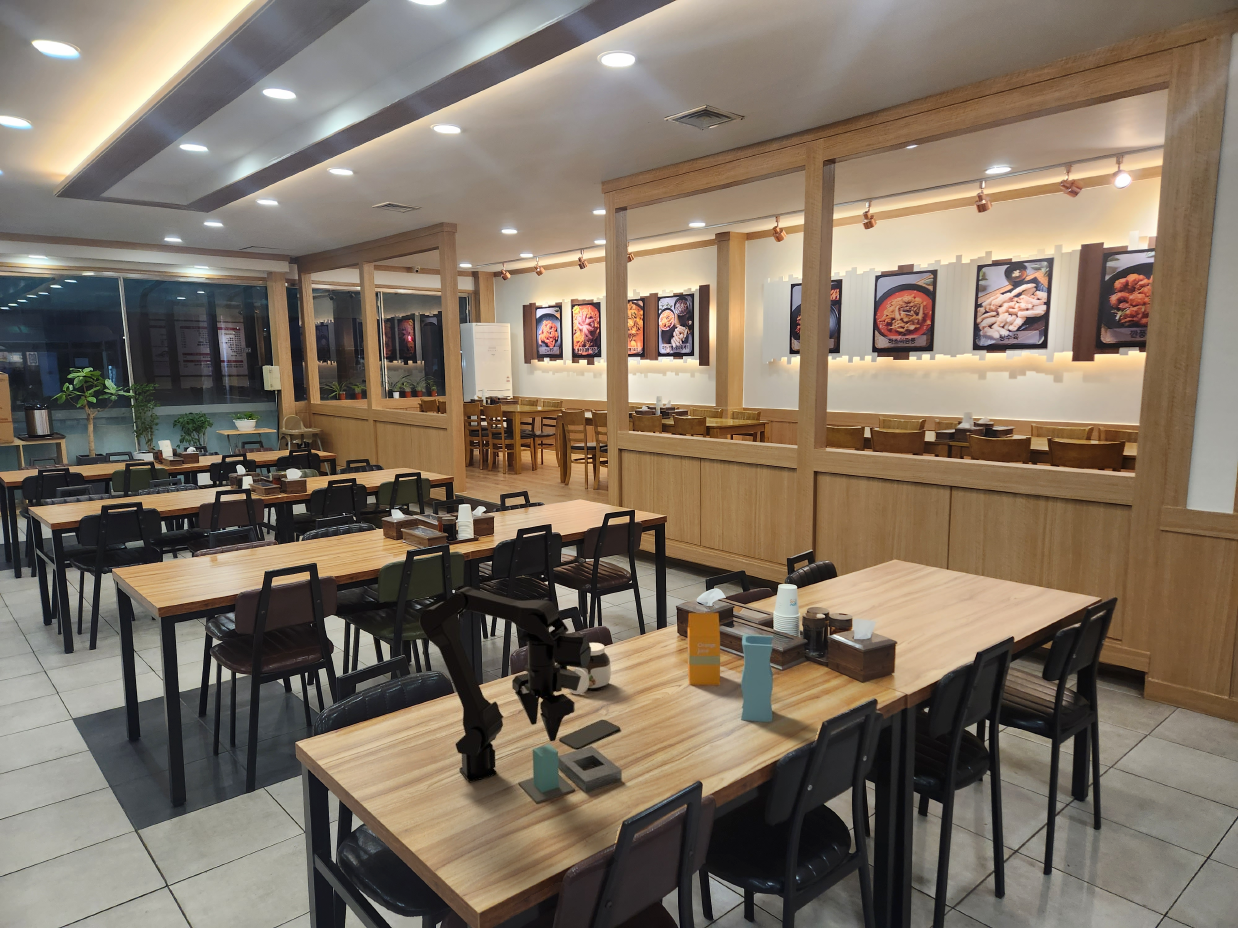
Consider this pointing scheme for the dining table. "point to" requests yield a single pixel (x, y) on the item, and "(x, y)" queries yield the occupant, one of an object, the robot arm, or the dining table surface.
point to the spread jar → (594, 671)
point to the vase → (757, 678)
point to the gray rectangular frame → (593, 777)
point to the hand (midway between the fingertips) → (543, 732)
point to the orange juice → (703, 649)
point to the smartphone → (589, 734)
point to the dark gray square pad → (543, 796)
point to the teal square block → (545, 768)
